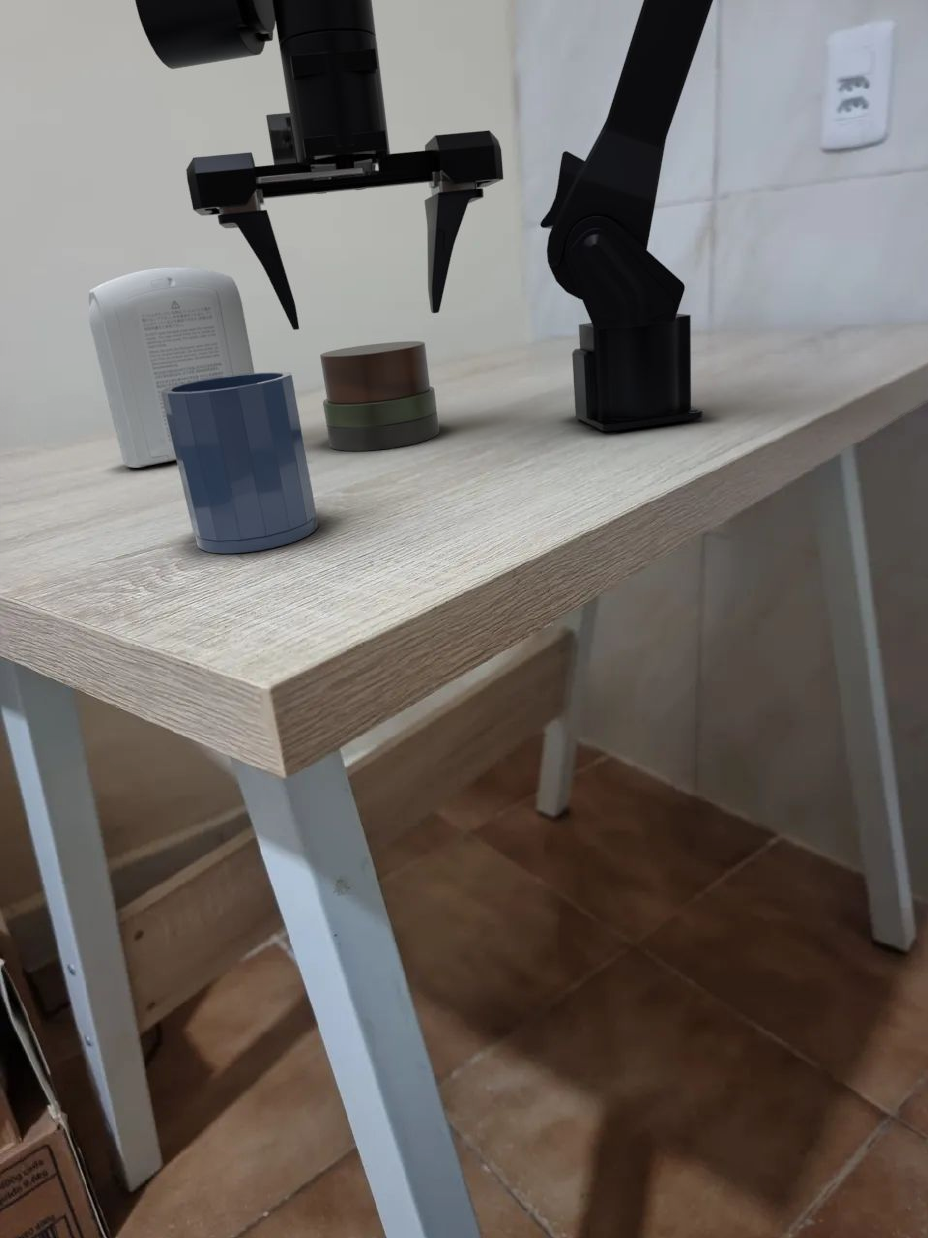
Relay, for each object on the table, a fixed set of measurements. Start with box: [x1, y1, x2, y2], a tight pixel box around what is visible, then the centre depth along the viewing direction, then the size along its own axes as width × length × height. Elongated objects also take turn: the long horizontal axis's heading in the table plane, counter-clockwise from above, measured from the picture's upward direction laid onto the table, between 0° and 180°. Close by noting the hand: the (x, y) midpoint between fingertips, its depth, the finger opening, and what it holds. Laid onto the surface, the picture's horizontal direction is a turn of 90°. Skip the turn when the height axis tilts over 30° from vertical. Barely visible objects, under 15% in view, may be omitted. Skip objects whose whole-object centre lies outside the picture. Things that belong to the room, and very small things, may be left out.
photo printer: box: [88, 266, 255, 469], centre depth 60 cm, size 10×4×12 cm, turn 123°
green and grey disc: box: [322, 385, 440, 452], centre depth 60 cm, size 8×8×3 cm
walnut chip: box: [319, 340, 431, 404], centre depth 59 cm, size 7×7×3 cm
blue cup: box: [161, 371, 319, 554], centre depth 40 cm, size 6×6×7 cm
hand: (366, 320), depth 57 cm, fingers open, 9 cm apart
